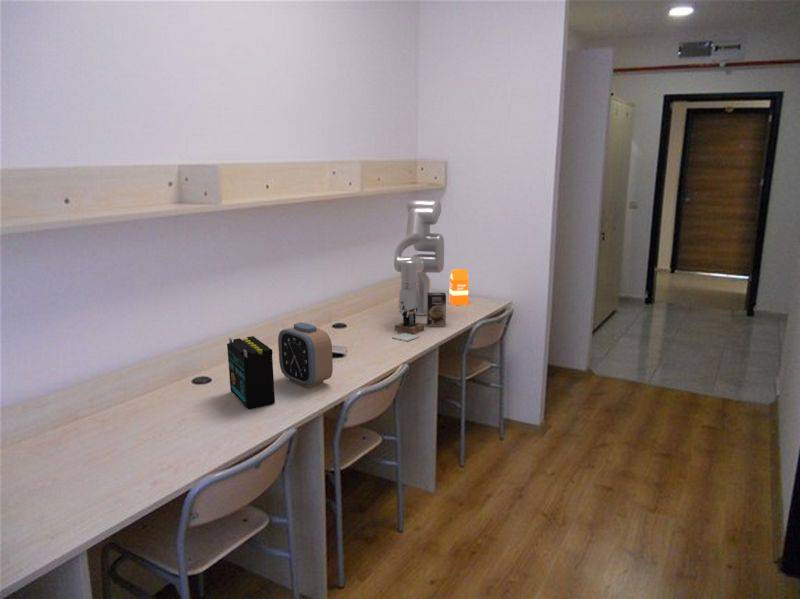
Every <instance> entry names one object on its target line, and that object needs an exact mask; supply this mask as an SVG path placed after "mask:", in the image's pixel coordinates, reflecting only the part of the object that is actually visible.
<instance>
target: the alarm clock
mask: <svg viewBox="0 0 800 599" xmlns="http://www.w3.org/2000/svg"><path fill="white" fill-rule="evenodd" d="M277 340H278V342H277V345H278V348H277V349H278V359H279V360H278V361H279V362H278V363H279V367H280V370H281V373H282V374H283V375H284V377H286V378H287V379H288V381H289V382H291V383H293V384H296V385H298V386H300V387H303V388H305V389H309V388H313V387H315V386H318V385H322V384H324V381H327V380H329V379H330V378H331V377H332V375H333V370H334V368H333V367H334V364H333V363H334V362H333V344H332V339H331V338H330V335H329V334H328V332H326V330H325V331H324V330H323V329H321V328H318V327H317V326H315V325H313V324H311V323H307V322H297V323H294V324H293V326H292V327H287V328H283V329H282V330H280V331H279V333H278V338H277Z"/></svg>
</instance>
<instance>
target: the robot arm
mask: <svg viewBox="0 0 800 599" xmlns="http://www.w3.org/2000/svg"><path fill="white" fill-rule="evenodd" d="M406 208H407V212H408V214H407V224H406V234H405V237H403V239H402V240H400V242H399V243H398V245H397V246H396V248H395V252H394V253H395V254H394V261H393V267H394V269H395V271H396V272H398V273H400V280H401V282H400V286H401V288H400V290H399V296H398V297H399V298H398V312H399V313H400V314H401V316H402V317H403V322H402V323H403V324H405V325H409V317H408V315H409V310H414V323H417V321H416V320H417V319H416V316H427V293H431V279H430V277H429V275H427V274H429V273H431V274H432V273H433V274H434V273H435V274H436V273H437V274H439V273H442V272H443V271H444V268H445V238H444V236H443V235H442V234H441V233H435V232H434V233H431V225H433V226H434V225H436V224H437V223H438V222H439V219H440V216H441V212H442V204H441V202H440V201H439V200H437V199H412V200H410V201H408V202H407V204H406ZM411 246H413V249H414V250H415V251H416V252H424V253H418V254H417V253H415V254H414V255H413V256H402V255H403V252H404V251H405V250H406V249H407V248H409V247H411ZM425 252H427V253H428V252H431V254H427V253H425ZM432 253H434V254H432ZM405 311H407V312H405Z"/></svg>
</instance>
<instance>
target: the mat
mask: <svg viewBox="0 0 800 599" xmlns="http://www.w3.org/2000/svg"><path fill="white" fill-rule="evenodd" d="M418 337H420V335H417V334H413V335H412V334H408V333H400V334H397V335H394V336H392V337H391V338H392V339H393V338H395V339H394V340H397V339H399V340H398V341H401V340H404V341H403V342H405V341H408V342H411V341H413V340H412V339H414V340H417V339H419V338H418ZM416 338H417V339H416ZM410 340H411V341H410Z"/></svg>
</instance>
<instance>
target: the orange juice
mask: <svg viewBox="0 0 800 599" xmlns="http://www.w3.org/2000/svg"><path fill="white" fill-rule="evenodd" d="M448 290H449V292H448V293H449V294H448V296H449V304H450V303H451V304H452V305H453V306H452V305H451V304H450V305H451V306H452V307H456V306H455V305H464V306H469V278H468V272H467V268H462V269H461V268H459V269H458V268H457V269H456V268H455V269H451V271H450V276H449V289H448Z"/></svg>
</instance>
